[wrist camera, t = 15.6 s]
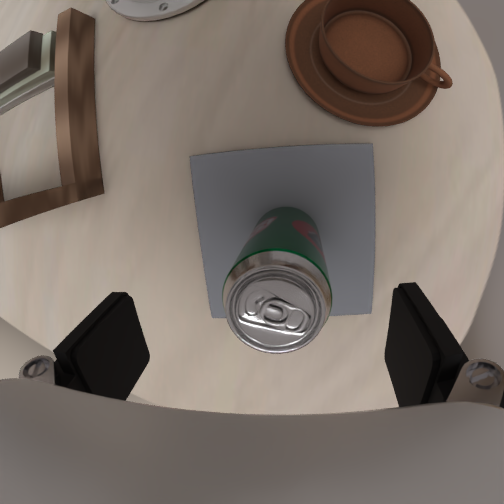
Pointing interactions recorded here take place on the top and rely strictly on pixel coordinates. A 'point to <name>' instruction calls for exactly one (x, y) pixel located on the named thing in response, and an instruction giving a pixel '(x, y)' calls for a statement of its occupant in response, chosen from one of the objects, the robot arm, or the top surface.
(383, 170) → the top surface
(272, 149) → the mat
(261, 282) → the soda can
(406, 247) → the top surface
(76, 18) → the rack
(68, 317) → the top surface
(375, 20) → the cup and saucer
